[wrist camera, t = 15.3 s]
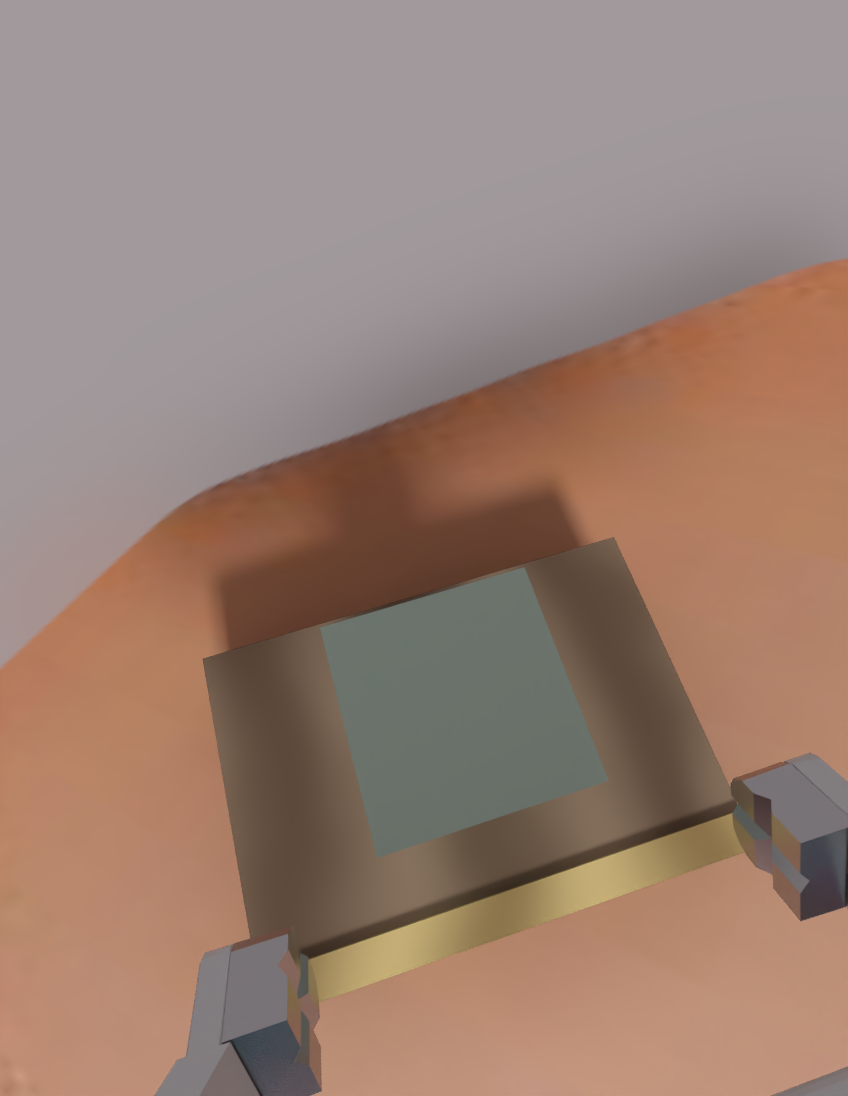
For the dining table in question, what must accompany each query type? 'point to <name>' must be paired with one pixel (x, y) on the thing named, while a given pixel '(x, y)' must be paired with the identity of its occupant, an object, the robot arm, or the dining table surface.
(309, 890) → the block
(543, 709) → the block
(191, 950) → the dining table surface
